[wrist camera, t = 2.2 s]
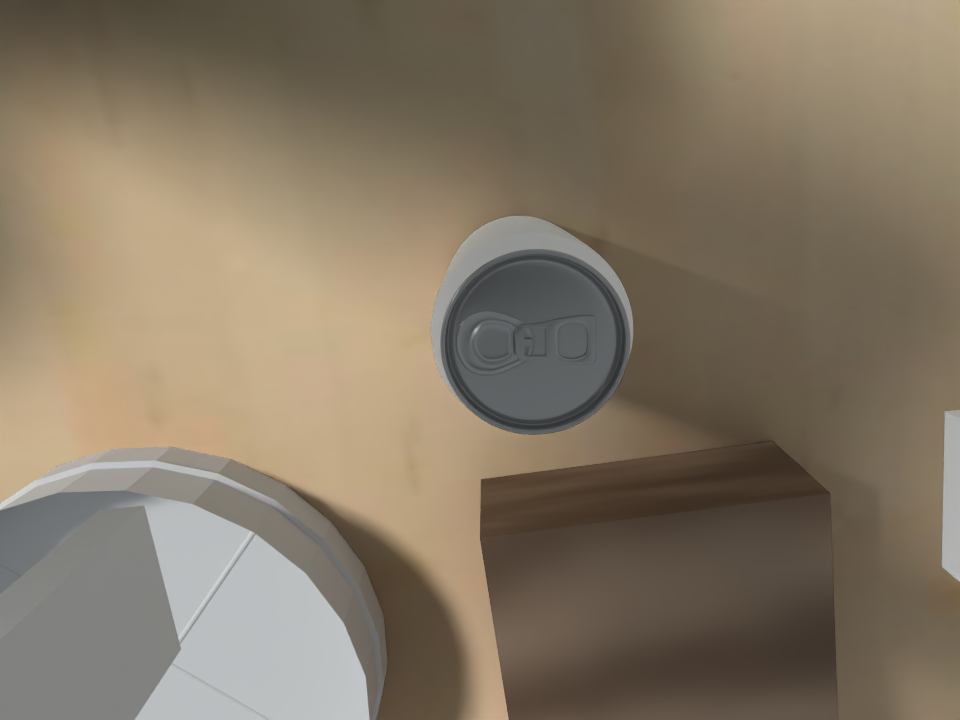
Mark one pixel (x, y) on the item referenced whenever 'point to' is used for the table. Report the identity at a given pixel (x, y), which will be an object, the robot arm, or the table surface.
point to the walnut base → (664, 588)
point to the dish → (225, 583)
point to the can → (531, 327)
